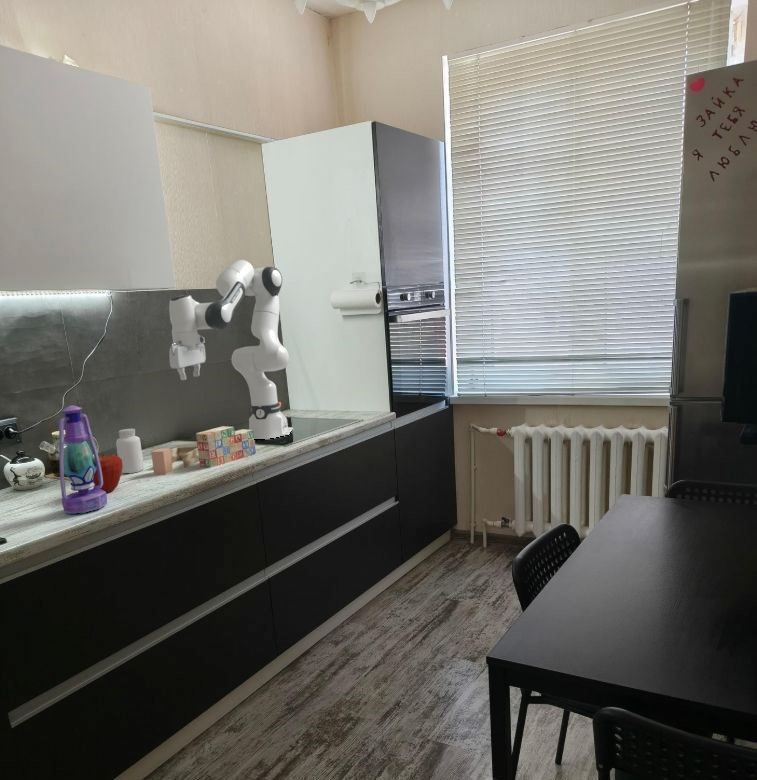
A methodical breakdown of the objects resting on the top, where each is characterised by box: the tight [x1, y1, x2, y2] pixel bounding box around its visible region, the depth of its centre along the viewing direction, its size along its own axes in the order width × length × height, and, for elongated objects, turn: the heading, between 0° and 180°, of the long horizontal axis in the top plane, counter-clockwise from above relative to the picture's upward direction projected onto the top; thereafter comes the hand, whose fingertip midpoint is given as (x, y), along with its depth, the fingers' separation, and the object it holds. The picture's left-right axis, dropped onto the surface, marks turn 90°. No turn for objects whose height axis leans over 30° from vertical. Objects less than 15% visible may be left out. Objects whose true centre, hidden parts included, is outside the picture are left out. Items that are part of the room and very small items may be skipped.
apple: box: [93, 453, 123, 493], centre depth 191 cm, size 11×11×12 cm
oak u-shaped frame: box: [170, 445, 199, 468], centre depth 223 cm, size 14×11×4 cm
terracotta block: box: [150, 447, 174, 475], centre depth 210 cm, size 4×4×8 cm
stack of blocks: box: [195, 425, 257, 468], centre depth 222 cm, size 21×6×12 cm, turn 145°
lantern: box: [58, 405, 108, 515], centre depth 172 cm, size 13×12×30 cm
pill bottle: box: [115, 428, 145, 474], centre depth 215 cm, size 8×8×15 cm
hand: (190, 378), depth 222 cm, fingers open, 8 cm apart
